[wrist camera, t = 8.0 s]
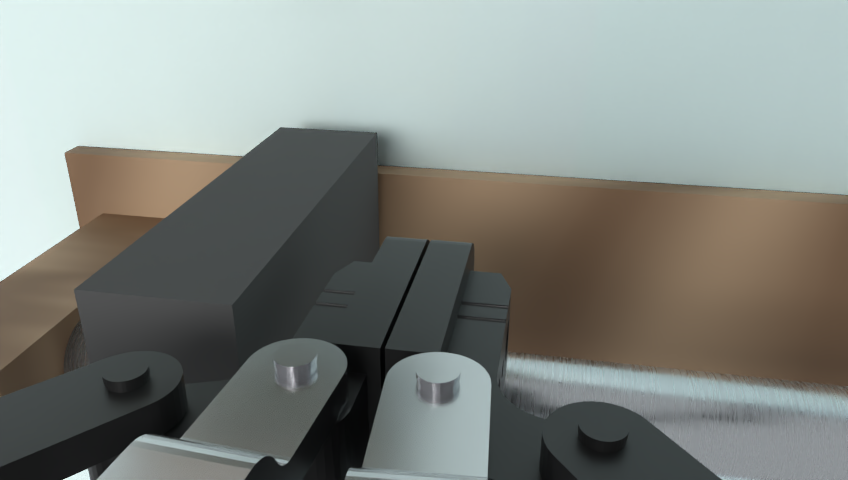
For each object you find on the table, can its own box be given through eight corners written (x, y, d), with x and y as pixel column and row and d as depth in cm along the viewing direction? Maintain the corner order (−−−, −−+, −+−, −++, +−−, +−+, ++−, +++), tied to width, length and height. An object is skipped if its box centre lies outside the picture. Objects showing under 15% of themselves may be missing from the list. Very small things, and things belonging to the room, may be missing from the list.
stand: (1256, 221, 16) (1796, 479, 9) (1144, 442, 19) (1497, 781, 12) (77, 145, 21) (-184, 277, 14) (114, 332, 23) (-91, 525, 16)
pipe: (1295, 387, 14) (1444, 489, 11) (1231, 497, 15) (1354, 611, 12) (48, 270, 18) (-32, 326, 15) (69, 363, 19) (-3, 429, 16)
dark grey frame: (376, 132, 18) (232, 305, 10) (383, 418, 21) (279, 703, 14) (280, 127, 18) (73, 289, 11) (302, 409, 22) (158, 680, 14)
